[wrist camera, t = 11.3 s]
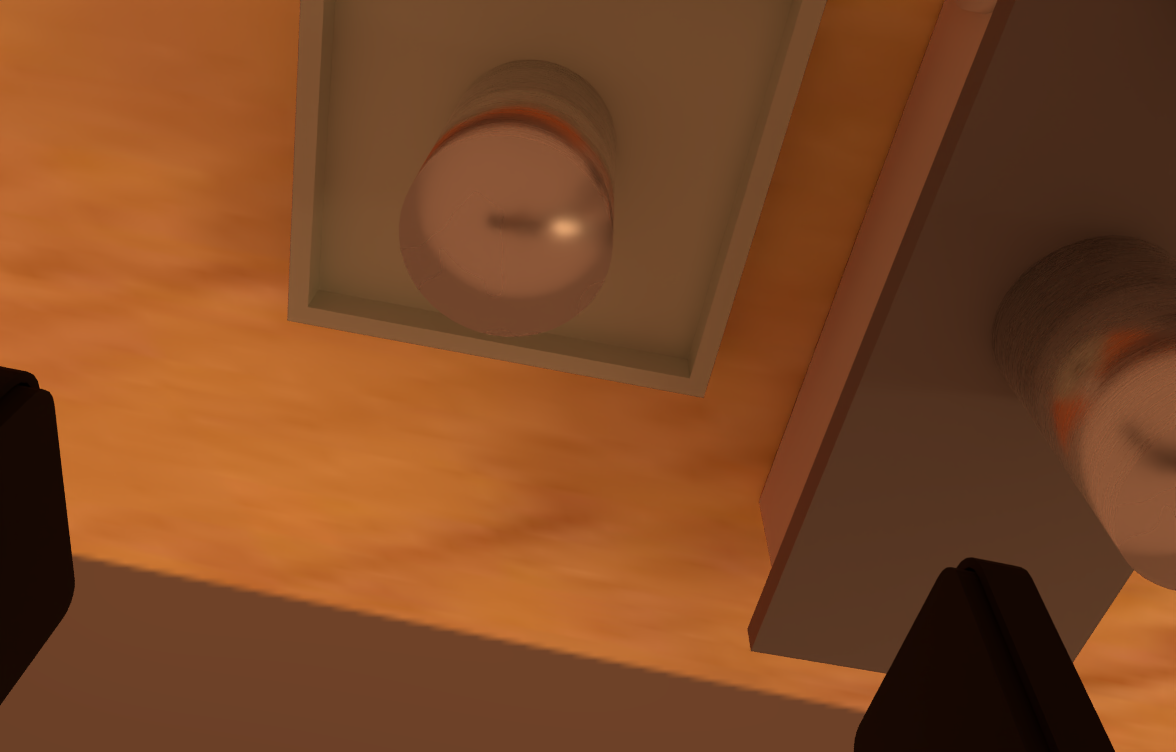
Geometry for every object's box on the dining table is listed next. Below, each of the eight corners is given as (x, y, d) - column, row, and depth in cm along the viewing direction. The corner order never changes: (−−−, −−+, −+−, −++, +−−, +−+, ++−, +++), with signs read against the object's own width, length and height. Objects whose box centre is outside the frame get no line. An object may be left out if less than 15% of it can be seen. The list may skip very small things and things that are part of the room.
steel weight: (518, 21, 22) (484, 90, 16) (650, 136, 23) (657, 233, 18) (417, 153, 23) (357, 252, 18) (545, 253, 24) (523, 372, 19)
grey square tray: (333, -164, 21) (306, -162, 19) (822, -55, 22) (839, -42, 20) (309, 286, 26) (287, 320, 25) (698, 360, 27) (703, 397, 25)
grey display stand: (1032, -324, 19) (1163, -363, 14) (1422, -226, 20) (1665, -235, 15) (731, 522, 30) (750, 651, 26) (985, 567, 31) (1047, 700, 26)
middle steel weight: (1117, 196, 19) (1303, 345, 14) (1227, 317, 20) (1435, 495, 15) (952, 329, 20) (1063, 506, 15) (1063, 433, 22) (1200, 629, 17)
